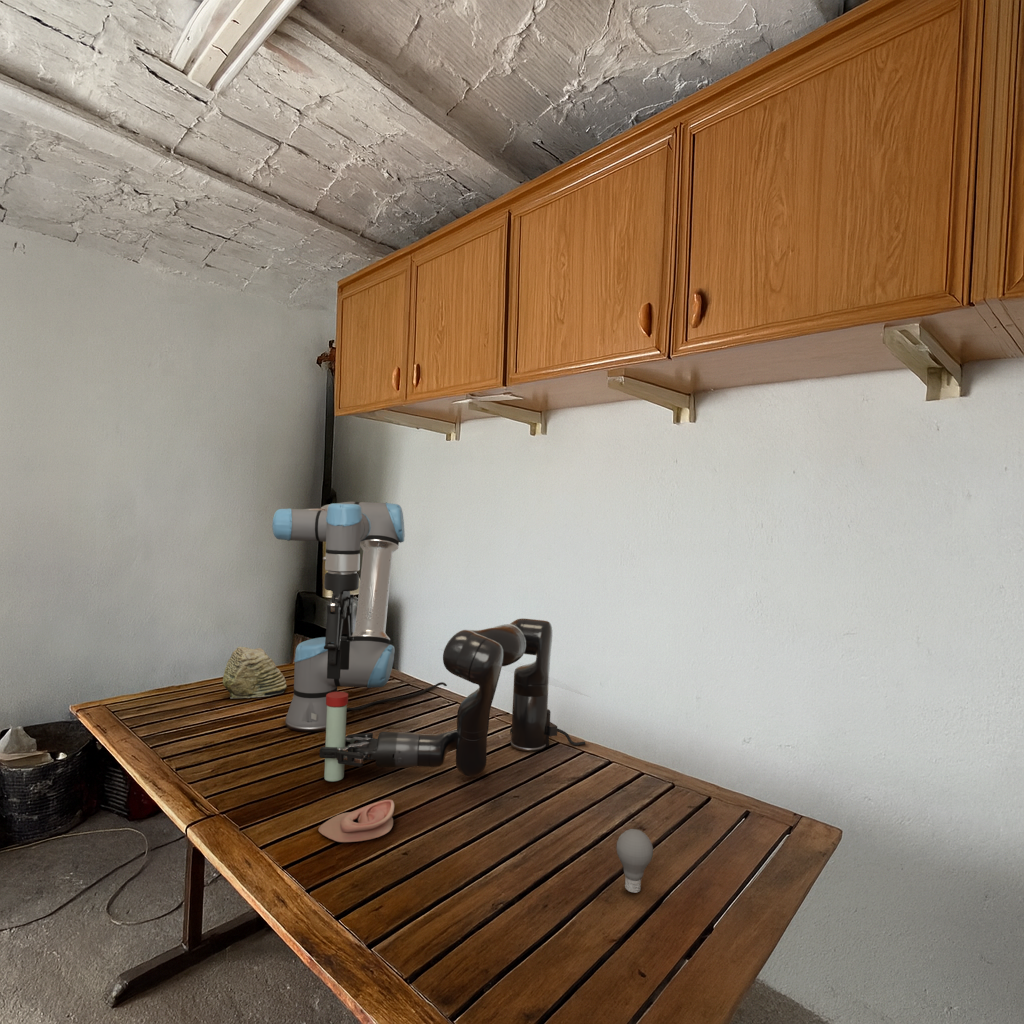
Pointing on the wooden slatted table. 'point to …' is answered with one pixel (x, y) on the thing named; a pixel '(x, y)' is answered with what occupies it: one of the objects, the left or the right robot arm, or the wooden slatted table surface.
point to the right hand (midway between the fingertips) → (323, 748)
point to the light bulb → (634, 857)
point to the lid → (337, 699)
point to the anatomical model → (360, 823)
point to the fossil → (252, 674)
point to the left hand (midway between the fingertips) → (338, 673)
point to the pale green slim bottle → (335, 741)
